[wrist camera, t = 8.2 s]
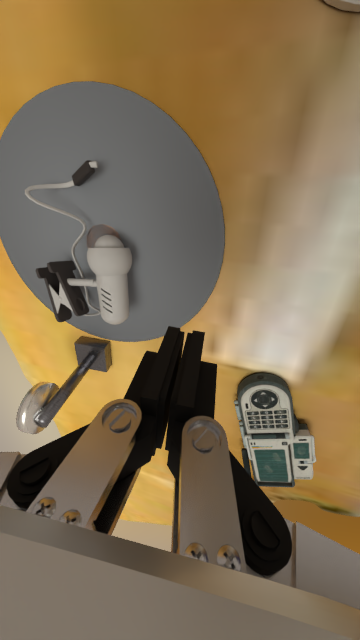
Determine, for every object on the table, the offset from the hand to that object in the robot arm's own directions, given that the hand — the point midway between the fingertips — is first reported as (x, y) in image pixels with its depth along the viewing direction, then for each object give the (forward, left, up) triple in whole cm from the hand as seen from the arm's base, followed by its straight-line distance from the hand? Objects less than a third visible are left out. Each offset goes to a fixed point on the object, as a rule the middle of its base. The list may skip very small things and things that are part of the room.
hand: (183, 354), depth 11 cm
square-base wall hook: (+19, -16, -20) cm, 32 cm away
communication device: (+28, +16, -20) cm, 38 cm away
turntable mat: (+1, -13, -20) cm, 24 cm away
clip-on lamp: (+1, -15, -20) cm, 25 cm away
